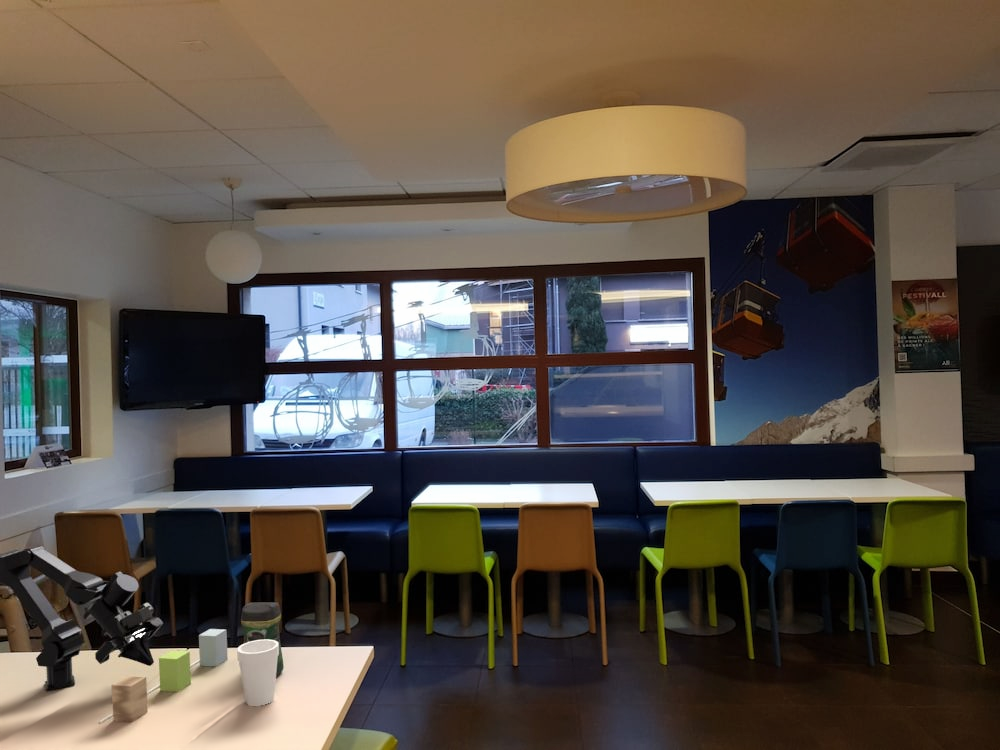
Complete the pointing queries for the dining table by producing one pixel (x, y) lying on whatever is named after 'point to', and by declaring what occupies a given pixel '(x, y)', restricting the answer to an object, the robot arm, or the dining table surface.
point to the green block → (174, 671)
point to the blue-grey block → (213, 647)
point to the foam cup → (258, 670)
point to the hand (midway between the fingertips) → (151, 664)
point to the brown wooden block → (129, 698)
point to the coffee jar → (263, 625)
